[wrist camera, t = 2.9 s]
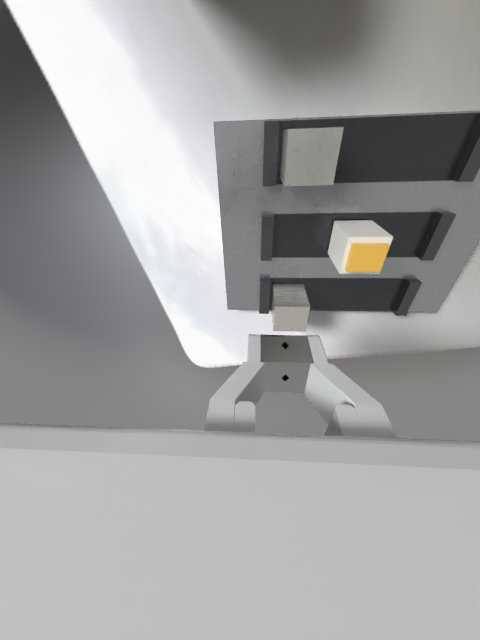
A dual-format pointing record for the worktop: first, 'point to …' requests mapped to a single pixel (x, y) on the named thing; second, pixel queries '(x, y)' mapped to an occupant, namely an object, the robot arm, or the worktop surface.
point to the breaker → (358, 246)
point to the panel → (346, 209)
